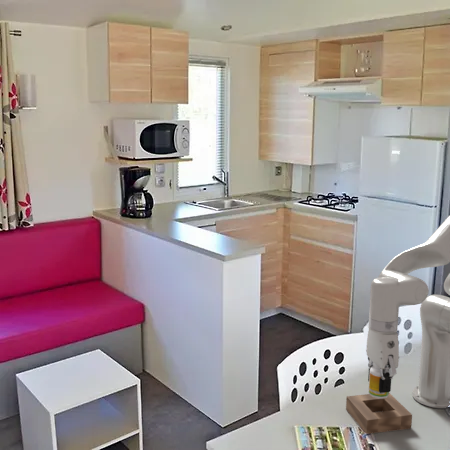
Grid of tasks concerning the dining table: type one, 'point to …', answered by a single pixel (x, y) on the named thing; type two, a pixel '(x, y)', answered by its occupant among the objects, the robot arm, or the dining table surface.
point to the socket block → (378, 413)
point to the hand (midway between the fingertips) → (379, 386)
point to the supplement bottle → (376, 382)
